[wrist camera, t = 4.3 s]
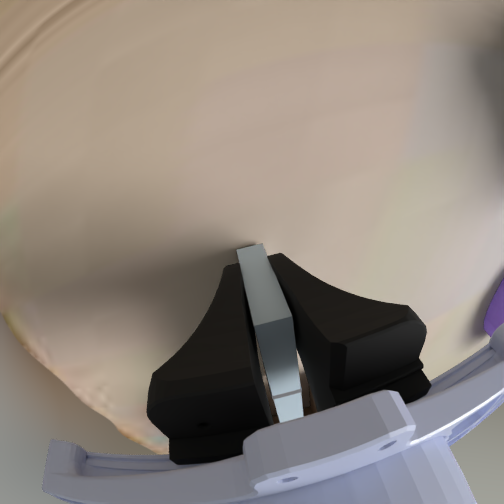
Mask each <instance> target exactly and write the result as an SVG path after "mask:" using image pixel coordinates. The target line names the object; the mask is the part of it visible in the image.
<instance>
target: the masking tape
mask: <svg viewBox="0 0 504 504" xmlns="http://www.w3.org/2000/svg"><path fill="white" fill-rule="evenodd" d="M503 323H504V279H503V280H502V282H501V284H500V286H499V287H498V289H497V291H496V293H495V295H494V297H493V299H492V301H491V303H490V305H489V308H488V310H487V313H486V316H485V319H484V330H485V331H486V332H487V333H488V335H489V336H490V337H491V336H492V335H493V333H494V331H495V330H496V329H497V328H498V327H499V326H500V325H501V324H503Z"/></svg>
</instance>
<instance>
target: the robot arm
mask: <svg viewBox="0 0 504 504" xmlns="http://www.w3.org/2000/svg"><path fill="white" fill-rule="evenodd" d="M267 258H268V260H269V263H270V265H271V267H272V270H273V271H274V273H275V275H276V278H277V280H278V283H279V285H280V287H281V290H282V292H283V295H284V297H285V300H286V302H287V305H288V307H289V309H290V312H291V314H292V318H293V326H294V334H295V342H296V349H297V351H298V353H299V356H300V358H301V361H302V364H303V367H304V370H305V373H306V377H307V380H308V383H309V386H310V389H311V392H312V395H313V399H314V402H315V405H316V409H317V413H314V414H311V415H307V416H304V417H300V418H297V419H293V420H289V421H285V422H281V423H277V424H274V423H273V419H272V415H271V411H270V407H269V403H268V399H267V395H266V391H265V387H264V383H263V379H262V374H261V370H260V365H259V359H258V352H257V344H256V336H255V328H254V324H253V320H252V316H251V312H250V307H249V303H248V299H247V294H246V290H245V286H244V281H243V276H242V271H241V267H240V263H237V264H232V265H228V266H225V268H224V270H223V274H222V278H221V281H220V284H219V287H218V289H217V292H216V295H215V297H214V299H213V301H212V303H211V305H210V307H209V309H208V311H207V313H206V315H205V317H204V318H203V320H202V321H201V323H200V325H199V326H198V328H197V329H196V330H195V332H194V333H193V334H192V336H191V337H190V338H189V340H188V341H187V342H186V343H185V344H184V345H183V346H182V347H181V349H180V350H179V351H178V352H177V353H176V354H175V355H174V356H173V357H171V358H170V359H169V360H168V361H167V362H166V363H165V364H163V365H162V366H161V367H160V368H159V369H158V370H156V371H155V372H154V373H153V374H152V378H151V382H150V386H149V391H148V401H147V416H148V418H149V420H150V421H151V422H152V423H153V424H154V425H155V426H156V427H157V428H158V429H159V430H160V431H161V432H162V433H163V434H165V435H166V436H167V437H168V438H169V454H167V455H124V454H107V453H95V452H86V451H85V450H84V449H83V448H82V447H80V446H79V445H77V444H75V443H72V442H68V441H61V440H55V439H52V440H50V444H49V449H48V454H47V460H46V465H45V471H44V478H43V484H42V490H43V491H44V492H46V493H48V494H50V495H52V496H54V497H56V498H59V499H61V500H63V501H65V502H67V503H70V504H477V502H476V500H475V498H474V496H473V494H472V492H471V489H470V487H469V485H468V483H467V481H466V479H465V477H464V474H463V472H462V471H461V468H460V467H459V465H458V463H457V461H456V459H455V457H454V455H453V453H452V452H451V450H450V448H449V446H451V445H452V444H454V443H455V442H456V441H458V440H459V439H461V438H462V437H463V436H465V435H466V434H467V433H468V432H470V431H471V430H472V429H473V428H475V427H476V426H477V425H478V424H480V423H481V422H482V421H483V420H484V419H485V418H487V417H488V416H489V415H490V414H491V413H492V412H493V411H495V410H496V409H497V408H498V407H499V406H500V405H501V404H502V403H503V402H504V323H503V324H501V325H500V326H499V327H498V328H497V329H496V330H495V331H494V333H493V335H492V336H491V339H490V341H489V343H488V344H487V345H486V346H484V347H483V348H482V349H480V350H479V351H477V352H476V353H474V354H473V355H471V356H470V357H468V358H467V359H465V360H464V361H462V362H461V363H459V364H458V365H456V366H455V367H453V368H451V369H450V370H448V371H446V372H445V373H443V374H441V375H440V376H438V377H436V378H434V379H433V380H431V381H429V380H428V379H427V377H426V376H425V374H424V373H423V371H422V370H421V369H423V367H424V366H423V363H422V362H421V360H420V359H419V355H420V353H421V350H422V347H423V345H424V342H425V338H426V333H427V330H426V326H425V324H424V323H423V322H422V321H421V319H420V318H419V317H418V316H417V314H416V313H415V312H414V311H413V310H412V309H411V308H410V307H409V306H408V305H400V304H393V303H386V302H381V301H376V300H372V299H368V298H364V297H360V296H357V295H354V294H351V293H348V292H346V291H343V290H340V289H338V288H336V287H334V286H331V285H329V284H327V283H325V282H323V281H321V280H320V279H318V278H316V277H314V276H313V275H311V274H310V273H308V272H307V271H305V270H304V269H302V268H301V267H299V266H298V265H297V264H295V263H294V262H293V261H291V260H290V259H289V258H287V257H286V256H285V255H284V254H282V253H278V254H274V255H270V256H267Z"/></svg>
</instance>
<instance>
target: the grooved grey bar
mask: <svg viewBox="0 0 504 504" xmlns="http://www.w3.org/2000/svg"><path fill="white" fill-rule="evenodd" d="M237 255H238V259H239V263H240V267H241V271H242V276H243V281H244V286H245V290H246V294H247V299H248V303H249V307H250V312H251V316H252V320H253V324H254V328H255V332H256V336H257V340H258V344H259V348H260V352H261V356H262V360H263V364H264V368H265V372H266V376H267V380H268V384H269V388H270V392H271V396H272V400H273V399H274V403H275V406H276V410H277V414H278V417H279V421H280V423H281V422H285V421H289V420H293V419H297V418H300V417H304V416H303V406H302V396H301V392H302V387H301V384H300V377H299V368H298V359H297V351H296V342H295V334H294V326H293V318H292V314H291V312H290V309H289V307H288V305H287V302H286V300H285V297H284V295H283V292H282V290H281V287H280V285H279V283H278V280H277V278H276V275H275V273H274V271H273V270H272V267H271V265H270V263H269V260H268V258H267V254H266V251H265V249H264V246H263V244H258V245H254V246H249V247H245V248H241V249H237Z"/></svg>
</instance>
